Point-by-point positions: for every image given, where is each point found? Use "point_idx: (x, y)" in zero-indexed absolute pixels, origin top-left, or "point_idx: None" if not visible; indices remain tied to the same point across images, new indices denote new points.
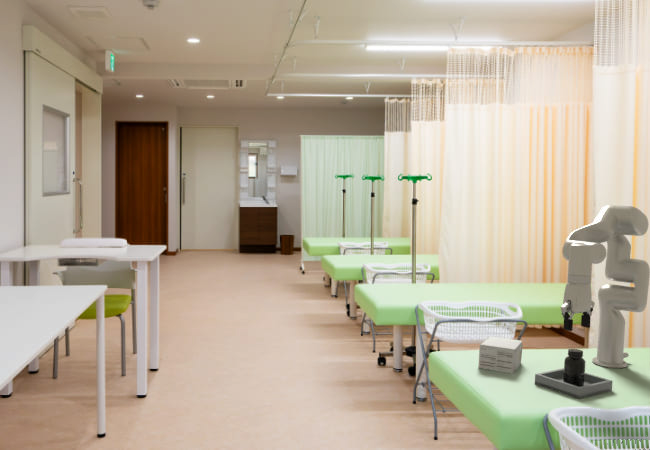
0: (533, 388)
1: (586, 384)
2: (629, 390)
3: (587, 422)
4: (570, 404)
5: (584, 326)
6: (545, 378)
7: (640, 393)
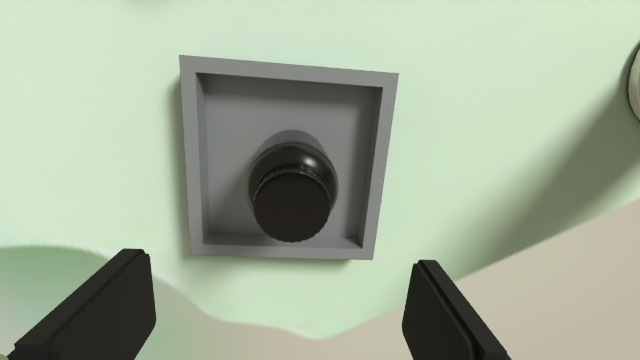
0: (144, 91)
1: None
2: None
3: None
4: None
5: (409, 295)
6: (184, 110)
7: None
